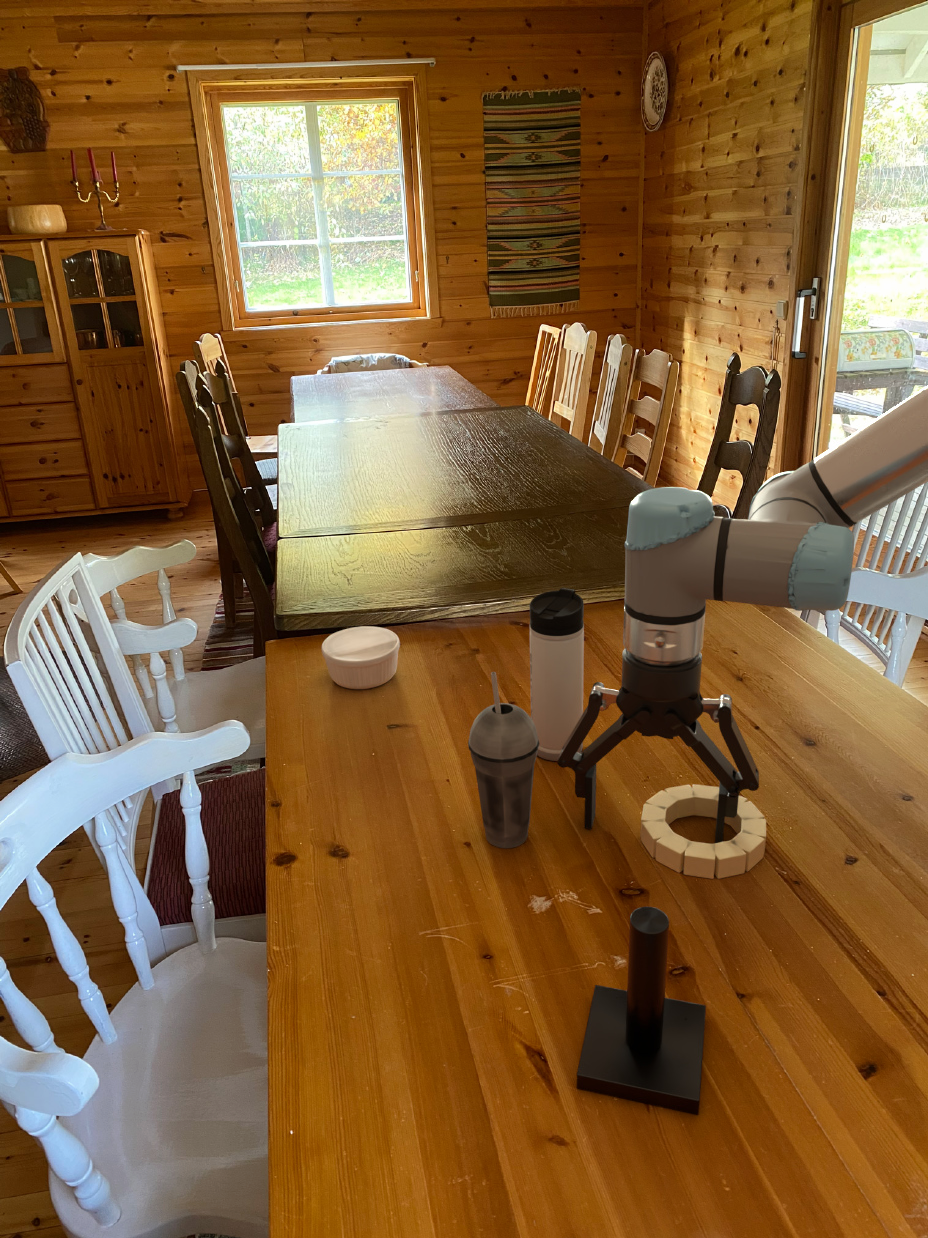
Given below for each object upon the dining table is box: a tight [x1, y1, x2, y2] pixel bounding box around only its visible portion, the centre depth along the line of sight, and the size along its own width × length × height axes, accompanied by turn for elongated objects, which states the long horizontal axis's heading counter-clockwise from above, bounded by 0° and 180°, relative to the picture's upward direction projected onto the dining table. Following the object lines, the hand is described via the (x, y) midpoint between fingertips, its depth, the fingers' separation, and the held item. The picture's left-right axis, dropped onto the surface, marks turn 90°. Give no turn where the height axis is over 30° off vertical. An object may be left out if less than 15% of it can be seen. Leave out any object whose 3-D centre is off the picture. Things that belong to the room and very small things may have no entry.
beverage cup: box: [467, 671, 540, 849], centre depth 93 cm, size 7×7×20 cm
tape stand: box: [576, 906, 707, 1115], centre depth 69 cm, size 9×9×14 cm
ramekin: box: [321, 625, 401, 690], centre depth 131 cm, size 11×11×5 cm
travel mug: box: [529, 587, 585, 762], centre depth 108 cm, size 6×7×20 cm
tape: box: [640, 783, 767, 880], centre depth 95 cm, size 12×12×2 cm
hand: (653, 830), depth 97 cm, fingers open, 13 cm apart
